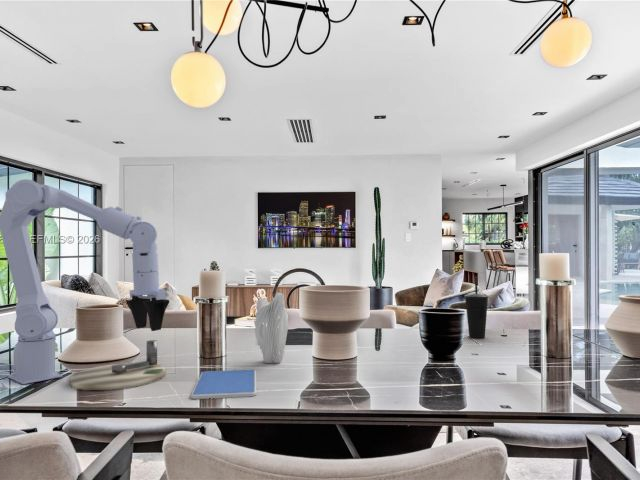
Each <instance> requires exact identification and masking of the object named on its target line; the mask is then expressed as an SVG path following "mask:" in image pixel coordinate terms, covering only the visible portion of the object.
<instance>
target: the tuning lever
mask: <svg viewBox="0 0 640 480" xmlns="http://www.w3.org/2000/svg"><path fill="white" fill-rule="evenodd" d="M130 363H131V364H122V363H115V364H116V365H113V366H112V372H113V373H119V372H124V371H126V370H130V369H135V368H140V367H145V366H152V365H158V340H156V339H151V340H146V360H142V361H137V362H130Z"/></svg>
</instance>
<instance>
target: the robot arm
mask: <svg viewBox="0 0 640 480" xmlns="http://www.w3.org/2000/svg"><path fill="white" fill-rule="evenodd" d="M4 193H5V200H4V203H3V206H2V208H1V211H0V235H1V238H2V239H1V240H2V243H3V246H4V251H5V255H6V258H7V263H8V266H9V267H8V268H9V270H10V275H11V278H12V282H13V287H14V289H15V294H16V298H17V300H16V305H15V308H14V309H15V314H16V316H15V322H14V330H15V332H16V334H17V336H18V337H17V342H16V343H15V345H14V348H13V363H12V364H13V372H12V373H13V374H8V378H9V379H11V380H14V381H15V382H17V383H19V384H21V385H26V384H27V385H28V384H31V383H36V382H42V381H46V380H53V379H59V378H61V377H63V374H61V373H58V372H56V333H55V332H54V329H55V328H56V327H57V325H58V320H59V316H58V314H57V312H56V311H55V310H54V309H53V308H52V306H51V304H50V300H49V299H48V297H47V295H46V294H45V292H44V289H43V285H42V281H41V280H42V279H41V276H40V272H39V269H38V265H37V261H36V256H35V253H34V249H33V245H32V241H31V238H30V234H29V230H28V226H29V225H30V224H31V223H32V222H33V220H35V218H36V217H37V216H39V215H41V214H42V213H44V212H45V211H47V210H49V209H50V208H52V209H67V210H69V211H73V212H74V213H77V214H80V215H82V216H85V217H87V218H90V219H93V220H94V221H96V222H97V224H98V226H99V229H101V230H103V231H105V232H107V233H111V234H112V235H114V236H117V237H118V238H122V239H124V240H128V239H130V240H131V242H132V254H131V258H132V276H133V277H132V279H133V281H132V282H133V289H130V290H129V299H127V300H125V304H126V305H127V306H128V308H129V311H130V312H131V315H132V317H133V321H134V324H135V327H136V329H144V328H147V323H148V322H147V321H148V320H149V327H150V330H151V332H154V331H156V332H157V331H161V330H162V326H163V321H164V316H165V313H166V310H167V308H168V306H169V304H170V299H167V298H166V290H165V289H164V288H160V276H159V257H158V255H159V254H158V251H157V250H158V245H157V241H156V240H157V237H158V231H157V229H156V227H155V226H154V225H153V224H151V223H150V222H148V221H142V217H141V216H133V215H131V214H129V213H126V212H124V211H123V208H121V207H119V206H116V207H113V206H109V207H106V208H101V207H99V206H97V205H95V204H93V203H90V202H88V201H86V200H85V199H82V198H80V197H78V196H76V195H74V194H71V192H67V191H65V190H63V189H60V188H57V187H54V186H50V185H48V184H44V183H41V184H39V183H38V182H36V181H35V180H32V179H26V178H24V179H20V180H18V181H16V182H14V183H13V184H12V185H11V186H10V188H9V189H8V190H6V191H5V192H4Z"/></svg>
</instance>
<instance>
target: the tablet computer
mask: <svg viewBox="0 0 640 480" xmlns="http://www.w3.org/2000/svg"><path fill="white" fill-rule="evenodd" d="M256 395H257V370H256V369H233V370H228V369H226V370H207V371H206V370H205V371H202V372H200V375H199V377H198V380H197V381H196V384H195V386H194V388H193V390H192V392H191V395H190V398H191V399H193V400H211V399H213V398H214V399H230V398H231V399H232V398H234V399H235V398H247V397H248V398H249V397H255V396H256ZM209 398H211V399H209ZM214 399H213V400H214Z"/></svg>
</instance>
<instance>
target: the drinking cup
mask: <svg viewBox="0 0 640 480" xmlns="http://www.w3.org/2000/svg"><path fill="white" fill-rule="evenodd" d="M489 298H490V296H489V295H487V294H485V293H483V292H481V291H478V276H477V275H475V276H474V291H472V292H468V293H467V294H464V299H465V309H466V318H467V327H468V335H469V338H471V339H479V340H480V339H485V338H486V330H487V329H486V328H487V316H488V315H487V314H488V304H489V303H488V300H489Z"/></svg>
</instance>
